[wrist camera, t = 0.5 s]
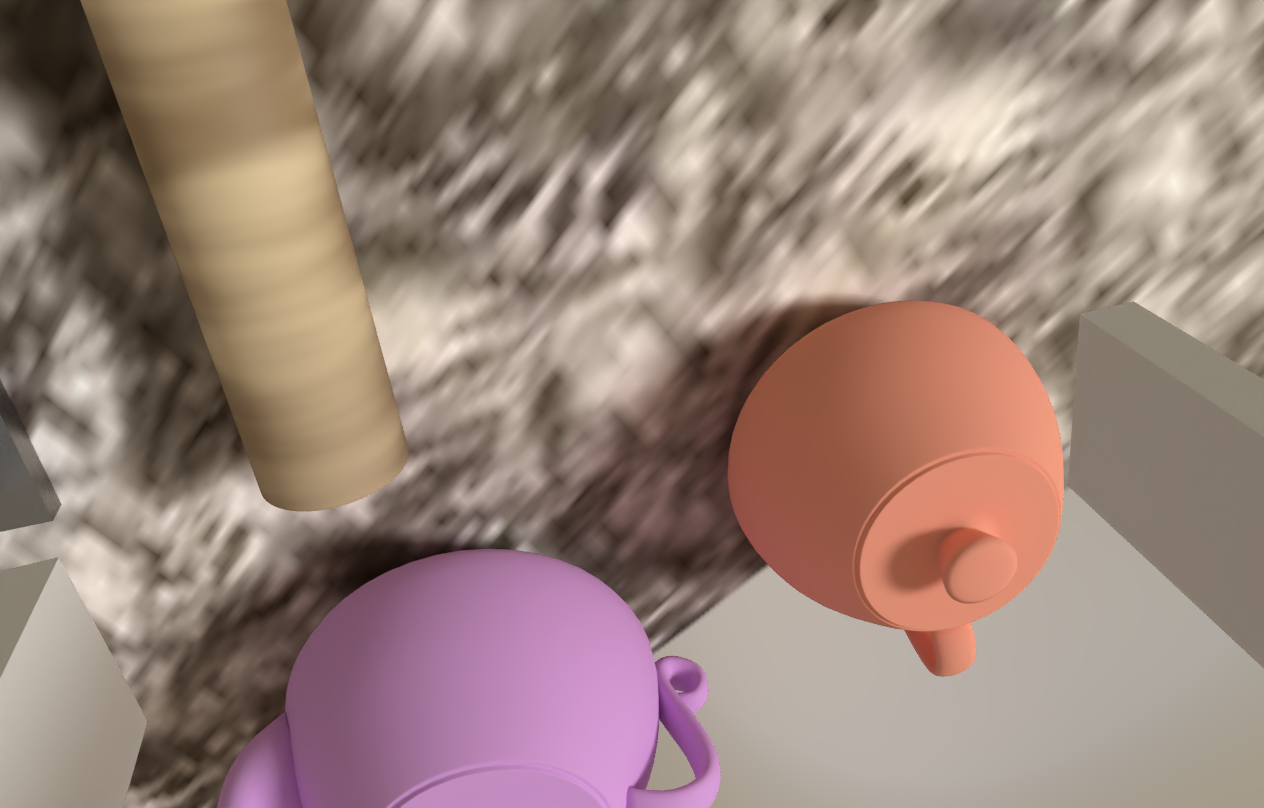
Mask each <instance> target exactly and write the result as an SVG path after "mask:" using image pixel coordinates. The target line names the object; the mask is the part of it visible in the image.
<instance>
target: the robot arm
mask: <svg viewBox="0 0 1264 808" xmlns="http://www.w3.org/2000/svg"><path fill="white" fill-rule="evenodd" d="M1068 486H1069V487H1070V488H1071V489H1072V490H1073V491H1074V492H1075V493H1076V494H1077V495H1079V496H1080V497H1081V498H1082V499H1083V500H1084V501H1085V502H1086V503H1087V504H1088V505H1089V506H1090V507H1092V509H1094V510H1095V511H1096V512H1097V513H1098V514H1099V515H1100V516H1101V517H1102V518H1103V519H1104V520H1105V521H1107V522H1108V523H1109V524H1110V525H1111V526H1112V527H1113V528H1114V529H1115V530H1116V531H1117V532H1118V533H1119V534H1120V535H1122V536H1123V537H1124V538H1125V539H1126V540H1127V541H1128V542H1129V543H1130V544H1131V545H1132V546H1133V547H1134V548H1135V549H1136V550H1138V551H1139V552H1140V553H1141V554H1142V555H1143V556H1144V557H1145V558H1146V559H1147V560H1148V561H1149V562H1150V563H1152V564H1153V565H1154V566H1155V567H1156V568H1157V569H1158V570H1159V571H1160V572H1161V573H1162V574H1163V575H1164V576H1166V578H1168V579H1169V580H1170V581H1171V582H1172V583H1173V584H1174V585H1175V586H1176V587H1177V588H1178V589H1179V590H1180V591H1182V592H1183V593H1184V594H1185V595H1186V596H1187V597H1188V598H1189V599H1190V600H1191V601H1192V602H1193V603H1194V604H1195V605H1197V606H1198V607H1199V608H1200V609H1201V610H1202V611H1203V612H1204V613H1205V614H1206V615H1207V616H1208V617H1209V618H1210V619H1211V620H1213V621H1214V622H1215V623H1216V624H1217V625H1218V626H1219V627H1220V628H1221V629H1222V630H1223V631H1224V632H1225V633H1226V634H1228V635H1229V636H1230V637H1231V638H1232V639H1233V640H1234V641H1235V642H1236V643H1237V644H1238V645H1239V646H1240V647H1241V648H1243V649H1244V650H1245V651H1246V652H1247V653H1248V654H1249V655H1250V656H1251V657H1252V658H1253V659H1254V660H1255V661H1256V662H1258V663H1259V664H1260V665H1261V666H1262V667H1263V668H1264V380H1263V379H1262V378H1260V377H1258V376H1257V375H1255V374H1253V373H1252V372H1250V371H1248V370H1247V369H1245V368H1243V367H1242V366H1240V365H1238V364H1237V363H1235V362H1233V361H1232V360H1230V359H1228V358H1227V357H1225V356H1223V355H1222V354H1220V353H1218V352H1217V351H1215V350H1213V349H1212V348H1210V347H1208V346H1207V345H1205V344H1203V343H1202V342H1200V341H1198V340H1197V339H1195V338H1193V337H1192V336H1190V335H1188V334H1187V333H1185V332H1183V331H1182V330H1180V329H1178V328H1177V327H1175V326H1173V325H1172V324H1170V323H1168V322H1167V321H1165V320H1163V319H1162V318H1160V317H1158V316H1157V315H1155V314H1153V313H1152V312H1150V311H1148V310H1147V309H1145V308H1143V307H1142V306H1140V305H1138V304H1137V303H1135V302H1129V303H1125V304H1121V305H1117V306H1113V307H1108V308H1104V309H1100V310H1096V311H1092V312H1087V313H1083V314H1080V322H1079V336H1078V350H1077V364H1076V379H1075V393H1074V407H1073V421H1072V435H1071V449H1070V463H1069V477H1068ZM147 722H148V721H147V719H146V717H145V715H144V713H143V711H142V710H141V708H140V706H139V704H138V702H137V700H136V699H135V697H134V695H133V693H132V691H131V689H130V687H129V686H128V684H127V682H126V680H125V678H124V676H123V675H122V673H121V671H120V669H119V667H118V665H117V664H116V662H115V660H114V658H113V656H112V654H111V653H110V651H109V649H108V647H107V645H106V643H105V642H104V640H103V638H102V636H101V634H100V632H99V631H98V629H97V627H96V625H95V623H94V621H93V620H92V618H91V616H90V614H89V612H88V610H87V608H86V607H85V605H84V603H83V601H82V599H81V597H80V596H79V594H78V592H77V590H76V588H75V586H74V585H73V583H72V581H71V579H70V577H69V575H68V574H67V572H66V570H65V568H64V566H63V564H62V563H61V561H60V559H59V557H58V558H54V559H50V560H45V561H41V562H37V563H33V564H29V565H24V566H20V567H16V568H12V569H8V570H3V571H0V808H123V805H124V802H125V799H126V795H127V792H128V788H129V785H130V781H131V778H132V774H133V771H134V767H135V764H136V760H137V757H138V753H139V750H140V746H141V743H142V740H143V736H144V733H145V729H146V726H147Z"/></svg>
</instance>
